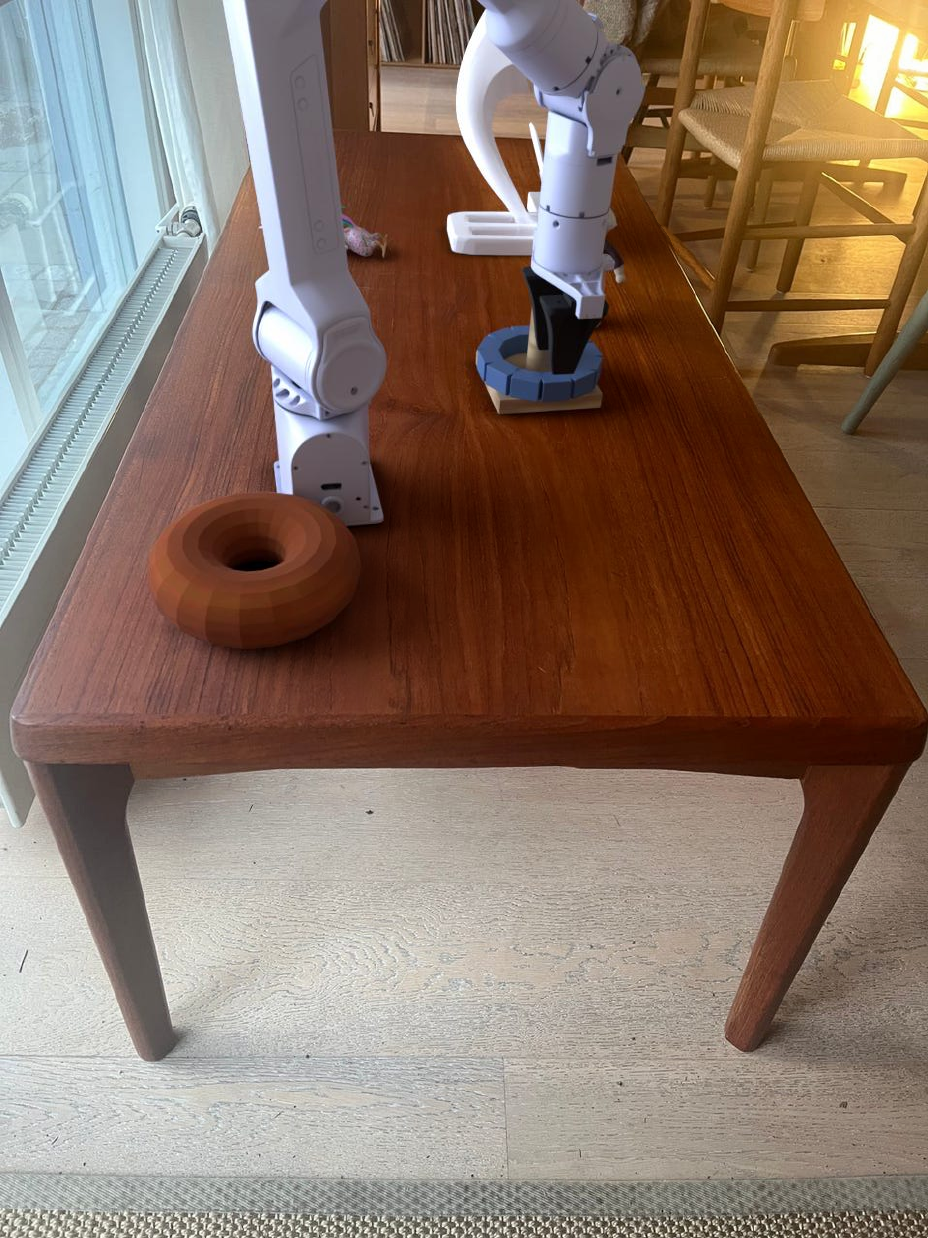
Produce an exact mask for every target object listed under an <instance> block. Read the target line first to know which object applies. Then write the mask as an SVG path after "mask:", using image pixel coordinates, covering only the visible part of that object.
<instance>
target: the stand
mask: <svg viewBox="0 0 928 1238" xmlns="http://www.w3.org/2000/svg"><path fill="white" fill-rule="evenodd" d="M529 321H530V322H529V325H530V330H529V340H528V350H527V353H517V354H515V355H512V356H510V357H507V358H505V359H504V360H505V361H507V362H508V363H510V364H512V365H514V366H516V367H518V368H520V369H525V370H530V371H535V372H541V373H542V372H551V370H550V365H549V350H538V348H537V344H536V338H535V330H534V319H533V310H532V309H531V311H530V319H529ZM477 357H478V349H477V350H476V352H475V365H476V366H477ZM483 383H484V385H485V388H486V389H487V392H488V394H489V396H490V399H491V401H492V403H493V405H494V407H495V409H496V412H497V414H498V415H510V414H525V413H527V414H528V413H540V412H542V413H543V412H555V411H570V410H585V409H600V408H601V407H602V401H603V395H604V393H603V392H602V391H601V388H600V387H599V385H598V384H597V385H596V387H595V389H593V390H592V391H591V392H588V393H586V394H584V395H582V396H580V397H578V398H575V399H572V398H570V400H568V401H555V402H542V401H541V400H540V398H539V400H538V402H535V401H530V400H524V399H519V398H514V397H510V393H509V394H507V395H504V394H502V393H501V392H499V391H497V390H495V389H494V388H492V387H490V386H488V385H486V382H483Z"/></svg>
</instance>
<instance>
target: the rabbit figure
mask: <svg viewBox="0 0 928 1238" xmlns="http://www.w3.org/2000/svg"><path fill="white" fill-rule="evenodd" d="M345 208H346V206H344V205H342V204H341V210H343V209H345ZM342 219H343V226H348V227H346V228H344V237H345V245H346V251H348V250H350V251H352V252H353V253H356V254H358V255H360V256H361V257H364V258H365V257H366V258H368V257H370V256H372V255H373V253H374V251H375V249H376V248H377V246H379V247H380V248H381V251H382V254H381V255H382V258H383V259H385V254H386V251H387V250H386V249H387V241H388V239H387V237H388V234H386V235H385V236H383V235H382V234H381V233H380V232H375V233H369V231H367V230H366V229H365V228H363V227H361V226H357V225H356V224H355V223H354V222H353V220H352V219H351V218H350V217H349V216H348V215H346V214H343V213H342ZM258 229H260V230H261V229H262V223H261V222H260V226H259V227H258ZM262 230H263V229H262ZM378 239H381V240H382V243H383V244H382V243H381V242H380V241H379V240H378Z"/></svg>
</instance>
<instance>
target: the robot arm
mask: <svg viewBox="0 0 928 1238" xmlns="http://www.w3.org/2000/svg"><path fill="white" fill-rule="evenodd" d="M327 1H328V0H222V5H223V11H224V17H225V21H226V27H227V32H228V33H227V34H228V39H229V44H230V45H229V46H230V50H231V55H232V62H233V68H234V73H235V79H236V85H237V91H238V97H239V102H240V108H241V114H242V119H243V125H244V131H245V137H246V142H247V147H248V153H249V159H250V166H251V172H252V176H253V183H254V189H255V193H256V194H255V195H256V201H257V206H258V211H259V216H260V217H259V218H260V224H261V223H262V224H261V226H262V234H263V241H264V245H265V252H266V258H267V263H268V270H267V271H266V272H265V273H263V274H262V275H261V276H260V277H259V278H258V279H257V280H256V281H255V283H254V285H255V286H254V287H255V290H256V299H257V304H256V305H257V306H256V311H255V316H254V319H253V323H252V340H253V344H254V346H255V349H256V350H257V352H258V355H259V356H261V358H262V359H264V360H265V361H266V362H268V363H269V364H270V370H271V379H272V382H271V385H272V386H271V387H272V398H273V409H274V420H275V431H276V442H277V453H278V460H276V461H275V462H274V463H273V469H274V477H275V478H274V479H275V487H276V493H284V494H292V495H296V496H299V497H302V498H305V499H308V500H311V501H314V502H316V503H318V504H320V505H321V506H323V507H324V508H326V509H327V510H329V511H330V512H332V513H333V514H335V515H336V516H337V517H338V518H339V519H341V520H342V521H343V522H344V524H345V525H346V527H351V526H364V525H374V524H380V523H383V522H384V512H383V508H382V505H381V501H380V496H379V493H378V489H377V484H376V480H375V477H374V473H373V469H372V464H371V460H370V412H369V411H370V410H369V409H370V408H369V406H370V405H371V404H372V399H373V398H374V397H375V396H376V394H377V392H378V391H379V390H380V388H381V386H382V384H383V383H384V379H385V376H386V371H387V361H388V360H387V354H386V351H385V348H384V346H383V343H382V342H381V341H380V339H379V338H378V337H377V335H376V334H375V331H374V329H373V326H372V324H373V323H372V318H371V310H370V308H369V306H368V304H367V302H366V300H365V298H364V296H363V295H362V293H361V291H360V289H359V287H358V285H357V284H356V282H355V280H354V278H353V276H352V274H351V272H350V271H349V264H348V255H347V254H348V253H347V250H346V245H345V237H344V229H345V228H344V225H343V219H342V214H343V211H342V210H343V209H342V210H341V205H342V202H341V195H340V184H339V176H338V166H337V159H336V149H335V141H334V131H333V124H332V115H331V105H330V98H329V97H330V96H329V89H328V80H327V71H326V70H327V69H326V62H325V53H324V45H323V35H322V27H321V18H320V17H321V15H320V14H321V11H322V8H323V7H324V5H325V4H326V3H327ZM476 1H477V2H478V3H480V5H482V7H484V8H485V10H486V14H485V27H486V33H487V35H488V38H489V39H490V41H491V42H492V43H493V44H494V45H495V46H496V47H497V48H498V49H499V50H500V51H501V52H502V53H503V54H504V55H505V56H506V57H507V58H508V59H509V60H510V61H511V62H512V63H513V64H514V65H515V66H516V67H517V68H518V69H519V70H520V71H521V72H522V73H523V74H524V75H525V76H526V77H527V80H529V81H530V82H531V83H532V84H533V93H534V96H535V99H536V103H537V104H538V106H539V107H541V108H545V109H546V110H547V111H548V113H547V123H546V124H547V125H546V133H545V134H546V135H545V142H544V143H545V145H544V153H543V156H544V164H543V173H542V182H541V185H540V192H541V193H540V203H539V212H538V222H537V228H535V229H534V238H533V248H532V249H533V253H532V255H531V259H530V260H531V261H530V265H527V266H524V267H523V268H522V269H521V274H522V277H523V279H524V282H525V284H526V288H527V291H528V295H529V299H530V304H531V310H533V319H534V330H535V338H536V344H537V348H538V350H549V365H550V370H551V373H552V374H553V375H562V374H574V373H575V371H576V368H577V366H578V364H579V361H580V359H581V356H582V354H583V351H584V349H585V347H586V344H587V342H588V340H590V338H591V337H592V335H593V333H594V332H595V330H596V329H597V328H598V327H599V326H598V324H599V323H600V322H601V323H602V321H603V320H604V318H605V317H606V316H607V315H608V313H609V310H610V303H609V302H608V301H607V300H606V294H605V292H604V293H603V291H602V278H603V272H604V271H606V272H610V271H611V272H612V271H614V270H613V269H614V265H615V261H614V260H613V259H612V257H611V256H610V255H608V254H603V250H604V243H605V239H606V236H607V235H606V229H607V222H608V215H609V209H611V201H612V194H613V189H614V188H613V187H614V181H615V175H616V167H617V160H618V154H620V153H621V152H622V150H623V146H625V145H626V143H627V142H626V141H627V136H628V135H627V134H628V130H629V128H630V125H631V122H632V120H633V119H634V118H635V116H636V114H637V113H638V111H639V109H640V107H641V104H642V102H643V99H644V96H645V92H646V85H645V84H643V81H642V80H643V78H642V71H641V68H640V65H639V63H638V60H637V58H636V55H635V54H634V52H633V51H632V50H631V49H630V48H629V47H627V46H626V45H622V44H619V43H616V42H613V41H610V40H608V39H607V36H606V34H605V33H604V31H603V27H604V22H603V20H602V19H601V18H600V17H599V15H597V14H595V13H591V12H587V11H586V10H585V8H584V7H583V6H582V5H581V3H579V1H578V0H476ZM601 323H600V324H601ZM600 324H599V325H600ZM597 326H598V327H597ZM596 327H597V328H596Z"/></svg>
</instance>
